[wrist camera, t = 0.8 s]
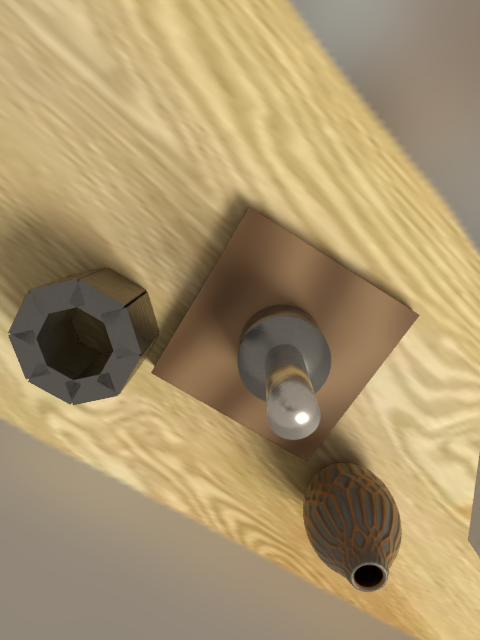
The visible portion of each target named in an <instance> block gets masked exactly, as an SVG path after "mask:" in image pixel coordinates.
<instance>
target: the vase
mask: <svg viewBox="0 0 480 640" xmlns="http://www.w3.org/2000/svg"><path fill="white" fill-rule="evenodd" d="M303 517H304V525H305V529H306V533H307V536H308V538H309V541H310V543H311V545H312V547H313V548H314V550H315V552H316V553H317V555H318V556H319V557H320V559H321V560H322V561H323V562H324V563H325V564H326V565H327V566H328V567H329V568H331V569H332V570H334V571H335V572H337V573H338V574H340V575H342V576H343V577H345V578H347V579H348V581H349V582H350V583H351V584H352V585H353V586H354V587H355V588H356V589H358V590H360V591H364V592H372V591H376V590H378V589H380V588H382V587H383V586H384V585H385V584H386V582H387V579H388V574H389V568H390V567H391V565H392V563H393V562H394V560H395V558H396V556H397V554H398V551H399V548H400V544H401V521H400V515H399V511H398V508H397V506H396V503H395V501H394V499H393V497H392V495H391V493H390V492H389V490H388V488H387V487H386V486H385V484H384V483H383V482H382V481H381V480H380V479H379V478H378V477H377V476H376V475H375V474H373V473H372V472H371V471H369V470H368V469H366V468H364V467H362V466H360V465H356V464H352V463H336V464H332V465H329V466H327V467H325V468H324V469H322V470H321V471H319V472H318V473H317V474H316V475H315V476H314V477H313V478H312V480H311V481H310V483H309V485H308V487H307V490H306V493H305V496H304V502H303Z"/></svg>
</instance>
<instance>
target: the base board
mask: <svg viewBox="0 0 480 640" xmlns="http://www.w3.org/2000/svg"><path fill="white" fill-rule="evenodd" d="M273 305H290V306H294V307H297V308H300V309H302V310H303V311H305V312H306V313H308V314H309V315H310V316H311V317H312V318H313V319H314V320H315V321H316V323H317V325H318V326H319V328H320V330H321V332H322V334H323V336H324V337H325V339H326V341H327V343H328V346H329V349H330V352H331V369H330V373H329V376H328V378H327V380H326V382H325V383H324V385H323V386H322V388H321V389H320V390H319V391H318V392H317V393H316V394H315V396H316V399H317V403H318V406H319V409H320V414H321V418H320V422H319V425H318V427H317V428H316V430H315V431H314V432H313V433H312V434H310V435H309V436H307V437H305V438H302V439H297V440H290V439H285V438H282V437H280V436H279V435H277V434H276V433H275V432H274V431H273V430H272V429H271V427H270V425H269V422H268V416H267V402H265V401H263V400H261V399H259V398H257V397H256V396H254V395H253V394H252V393H251V392H250V391H249V390H248V389H247V388H246V386H245V385H244V383H243V382H242V380H241V378H240V375H239V371H238V364H237V359H238V350H239V342H240V336H241V332H242V330H243V328H244V326H245V324H246V323H247V321H248V320H249V319H250V318H251V317H252V316H253V315H254V314H255V313H257V312H258V311H260V310H261V309H264V308H266V307H269V306H273ZM418 317H419V314H417V313H415V312H414V311H412V310H411V309H409V308H408V307H406V306H404V305H403V304H401V303H400V302H398V301H397V300H395V299H393V298H392V297H390V296H389V295H387V294H386V293H384V292H382V291H381V290H379V289H378V288H376V287H375V286H373V285H371V284H370V283H368V282H367V281H365V280H364V279H362V278H360V277H359V276H357V275H356V274H354V273H353V272H351V271H349V270H348V269H346V268H345V267H343V266H342V265H340V264H338V263H337V262H335V261H334V260H332V259H331V258H329V257H327V256H326V255H324V254H323V253H321V252H320V251H318V250H316V249H315V248H313V247H312V246H310V245H309V244H307V243H305V242H304V241H302V240H301V239H299V238H298V237H296V236H294V235H293V234H291V233H290V232H288V231H287V230H285V229H283V228H282V227H280V226H279V225H277V224H276V223H274V222H272V221H271V220H269V219H268V218H266V217H265V216H263V215H261V214H260V213H258V212H257V211H255V210H254V209H252V208H250V207H249V209H248V211H247V212H246V214H245V216H244V217H243V219H242V221H241V222H240V224H239V226H238V227H237V229H236V231H235V232H234V234H233V236H232V237H231V239H230V241H229V243H228V244H227V246H226V248H225V249H224V251H223V253H222V254H221V256H220V258H219V259H218V261H217V263H216V264H215V266H214V268H213V269H212V271H211V273H210V274H209V276H208V278H207V280H206V281H205V283H204V285H203V286H202V288H201V290H200V291H199V293H198V295H197V296H196V298H195V300H194V301H193V303H192V305H191V306H190V308H189V310H188V311H187V313H186V315H185V317H184V318H183V320H182V322H181V323H180V325H179V327H178V328H177V330H176V332H175V333H174V335H173V337H172V338H171V340H170V342H169V343H168V345H167V347H166V349H165V350H164V352H163V354H162V355H161V357H160V359H159V360H158V362H157V364H156V365H155V367H154V369H153V370H152V372H151V373H152V374H154V375H156V376H157V377H159V378H161V379H163V380H165V381H166V382H168V383H170V384H172V385H173V386H175V387H177V388H179V389H180V390H182V391H184V392H186V393H187V394H189V395H191V396H193V397H194V398H196V399H198V400H200V401H201V402H203V403H205V404H207V405H209V406H210V407H212V408H214V409H216V410H217V411H219V412H221V413H223V414H224V415H226V416H228V417H230V418H231V419H233V420H235V421H237V422H238V423H240V424H242V425H244V426H245V427H247V428H249V429H251V430H252V431H254V432H256V433H258V434H260V435H261V436H263V437H265V438H267V439H268V440H270V441H272V442H274V443H275V444H277V445H279V446H281V447H282V448H284V449H286V450H288V451H289V452H291V453H293V454H295V455H296V456H298V457H300V458H302V459H304V460H305V461H308V460H309V459H310V458H311V456H312V455H313V454H314V452H315V451H316V450H317V448H318V447H319V446H320V444H321V443H322V442H323V441H324V439H325V438H326V437H327V435H328V434H329V433H330V431H331V430H332V429H333V428H334V426H335V425H336V424H337V422H338V421H339V420H340V418H341V417H342V416H343V414H344V413H345V412H346V411H347V409H348V408H349V407H350V405H351V404H352V403H353V401H354V400H355V399H356V398H357V396H358V395H359V394H360V392H361V391H362V390H363V388H364V387H365V386H366V384H367V383H368V382H369V381H370V379H371V378H372V377H373V375H374V374H375V373H376V371H377V370H378V369H379V367H380V366H381V365H382V364H383V362H384V361H385V360H386V358H387V357H388V356H389V354H390V353H391V352H392V351H393V349H394V348H395V347H396V345H397V344H398V343H399V341H400V340H401V339H402V337H403V336H404V335H405V334H406V332H407V331H408V330H409V328H410V327H411V326H412V324H413V323H414V322H415V320H416V319H417V318H418Z"/></svg>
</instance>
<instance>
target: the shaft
mask: <svg viewBox="0 0 480 640" xmlns="http://www.w3.org/2000/svg"><path fill="white" fill-rule="evenodd" d="M237 364H238V371H239V375H240V378H241V380H242V382H243V383H244V385H245V386H246V388H247V389H248V390H249V391H250V392H251V393H252V394H253V395H254V396H256V397H257V398H259V399H261V400H263V401H265V402H267V416H268V422H269V425H270V427H271V429H272V430H273V431H274V432H275V433H276V434H277V435H279V436H280V437H282V438H285V439H290V440H297V439H302V438H305V437H307V436H309V435H310V434H312V433H313V432H314V431H315V430H316V428H317V427H318V425H319V422H320V418H321V414H320V409H319V406H318V403H317V399H316V396H315V394H316V393H317V392H318V391H319V390H320V389H321V388H322V386H323V385H324V383H325V382H326V380H327V378H328V376H329V373H330V369H331V352H330V349H329V346H328V343H327V341H326V339H325V337H324V336H323V334H322V332H321V330H320V328H319V326H318V325H317V323H316V321H315V320H314V319H313V318H312V317H311V316H310V315H309V314H308V313H306V312H305V311H303V310H302V309H300V308H297V307H294V306H290V305H273V306H269V307H266V308H264V309H261V310H260V311H258V312H257V313H255V314H254V315H253V316H252V317H251V318H250V319H249V320H248V321H247V323H246V324H245V326H244V328H243V330H242V332H241V336H240V342H239V350H238V359H237Z"/></svg>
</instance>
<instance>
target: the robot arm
mask: <svg viewBox="0 0 480 640" xmlns="http://www.w3.org/2000/svg"><path fill="white" fill-rule="evenodd" d="M468 541H469V542H470V544H471V545H472V547H473V548H474V550H475V551H476V553H477V554H478V556H479V557H480V454H479V462H478V469H477V477H476V484H475V491H474V499H473V506H472V514H471V521H470V528H469V536H468Z"/></svg>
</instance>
